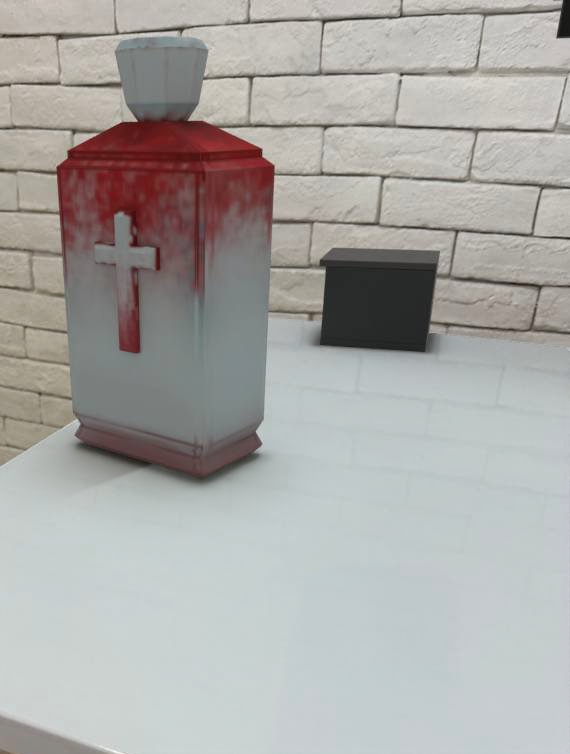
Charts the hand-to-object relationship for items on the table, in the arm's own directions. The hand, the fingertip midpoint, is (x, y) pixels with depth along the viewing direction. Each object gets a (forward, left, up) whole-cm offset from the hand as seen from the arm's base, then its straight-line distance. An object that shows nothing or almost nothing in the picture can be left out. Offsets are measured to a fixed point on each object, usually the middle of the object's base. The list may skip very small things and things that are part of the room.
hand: (564, 37), depth 86 cm
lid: (+16, +1, -23) cm, 28 cm away
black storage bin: (+16, +1, -32) cm, 36 cm away
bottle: (+29, +47, -33) cm, 64 cm away
